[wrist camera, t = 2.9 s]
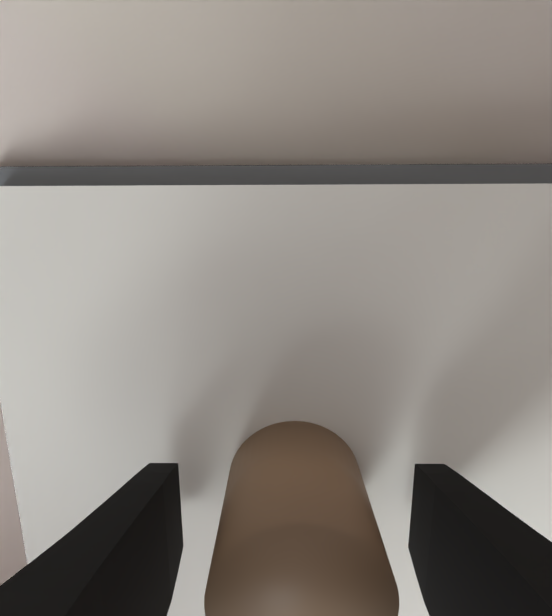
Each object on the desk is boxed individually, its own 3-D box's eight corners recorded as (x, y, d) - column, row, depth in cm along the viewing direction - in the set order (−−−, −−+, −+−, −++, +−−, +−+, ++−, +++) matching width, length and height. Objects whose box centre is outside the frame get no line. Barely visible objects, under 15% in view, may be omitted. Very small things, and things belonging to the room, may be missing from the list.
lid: (69, 654, 11) (-42, 881, 7) (0, 190, 9) (-235, 163, 5) (516, 658, 11) (644, 891, 7) (593, 187, 8) (866, 155, 5)
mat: (65, 645, 12) (54, 667, 11) (-6, 170, 9) (-27, 166, 8) (519, 649, 12) (532, 671, 11) (599, 167, 9) (621, 163, 8)
